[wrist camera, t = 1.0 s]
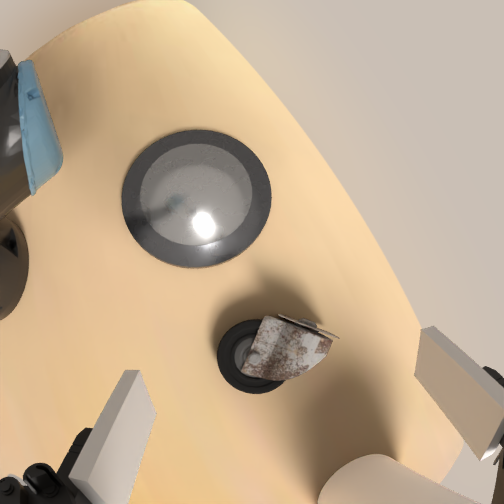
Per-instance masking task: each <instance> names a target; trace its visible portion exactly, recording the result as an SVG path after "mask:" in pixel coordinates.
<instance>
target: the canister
mask: <svg viewBox="0 0 504 504" xmlns="http://www.w3.org/2000/svg"><path fill="white" fill-rule="evenodd" d="M318 504H481V503H478V502H476V501H474V500H472V499H469V498H467V497H465V496H463V495H461V494H459V493H456V492H454V491H452V490H450V489H448V488H446V487H444V486H442V485H440V484H438V483H436V482H434V481H432V480H430V479H428V478H427V477H425V476H423V475H421V474H419V473H417V472H415V471H414V470H412V469H410V468H408V467H406V466H404V465H403V464H401V463H399V462H397V461H396V460H394V459H392V458H390V457H389V456H386V455H382V454H371V455H366V456H362V457H359V458H357V459H355V460H353V461H351V462H349V463H347V464H346V465H344V466H343V467H341V468H340V469H339V470H338V471H336V472H335V473H334V474H333V475H332V476H331V477H330V478H329V480H328V481H327V482H326V484H325V485H324V487H323V488H322V490H321V492H320V495H319V498H318Z"/></svg>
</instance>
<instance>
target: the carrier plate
mask: <svg viewBox="0 0 504 504" xmlns="http://www.w3.org/2000/svg"><path fill="white" fill-rule="evenodd" d="M271 198H272V197H271V186H270V181H269V178H268V175H267V172H266V170H265V168H264V166H263V164H262V163H261V162H260V160H259V159H258V157H257V156H256V155H255V154H254V153H253V152H252V151H251V150H250V149H249V148H248V147H247V146H245V145H244V144H243V143H241V142H240V141H238V140H236V139H234V138H232V137H230V136H228V135H225V134H222V133H218V132H214V131H207V130H189V131H183V132H178V133H175V134H172V135H169V136H166V137H164V138H162V139H160V140H158V141H157V142H155V143H153V144H152V145H151V146H149V147H148V148H147V149H146V150H144V151H143V152H142V153H141V154H140V155H139V157H138V158H137V159H136V160H135V162H134V163H133V165H132V166H131V168H130V170H129V172H128V174H127V176H126V178H125V182H124V185H123V191H122V210H123V216H124V219H125V222H126V225H127V227H128V229H129V231H130V233H131V234H132V236H133V237H134V239H135V240H136V241H137V242H138V244H139V245H140V246H141V247H142V248H143V249H144V250H145V251H147V252H148V253H149V254H150V255H152V256H153V257H155V258H157V259H158V260H160V261H162V262H165V263H167V264H170V265H173V266H177V267H182V268H207V267H212V266H216V265H220V264H222V263H225V262H227V261H230V260H231V259H233V258H235V257H237V256H238V255H240V254H241V253H242V252H244V251H245V250H246V249H247V248H248V247H249V246H250V245H251V244H252V243H253V242H254V241H255V240H256V238H257V237H258V236H259V234H260V233H261V231H262V229H263V227H264V226H265V224H266V221H267V219H268V216H269V212H270V208H271Z"/></svg>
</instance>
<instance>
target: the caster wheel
mask: <svg viewBox="0 0 504 504" xmlns="http://www.w3.org/2000/svg"><path fill="white" fill-rule="evenodd" d="M278 315H279V316H281V317H283V318H286V319H289V320H291V321H294V322H295V324H294V323H290V322H287V321H284V320H281V319H278V318H275V317H272V316H266V315H265V317H264V318H263V320H260V319H254V320H247V321H244V322H241V323H239V324H237V325H235V326H234V327H232V328H231V329H230V330H228V331H227V332H226V334H225V335H224V336H223V338H222V340H221V341H220V344H219V347H218V351H217V361H218V366H219V369H220V372H221V374H222V375H223V377H224V378H225V380H226V381H227V382H228V383H229V384H230V385H232V386H233V387H234V388H236V389H238V390H240V391H243V392H246V393H251V394H262V393H266V392H270V391H272V390H274V389H276V388H277V387H279V386H280V385H281V384H283V382H284V381H285V380H287V379H291V378H294V377H297V376H299V375H301V374H303V373H305V372H306V371H308V370H310V369H311V368H312V367H314V366H315V365H316V364H318V363H319V362H320V361H321V360H322V359H323V358H325V357H326V355H327V353H328V351H329V348H330V346H331V344H332V340H331V339H329V338H328V337H326V336H324V335H322V334H320V333H318V332H319V331H320V332H322V333H325V334H328V335H330V336H333V337H336V338H339V337H337V336H335V335H333V334H331V333H329V332H327V331H324V330H322V329H319V328H317V325H316V324H315V322H312V321H310V320H307V319H305V318H302V319H299V321H298V320H296V319H293V318H291V317H288V316H285V315H283V314H278ZM339 339H340V338H339Z"/></svg>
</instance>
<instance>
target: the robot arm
mask: <svg viewBox="0 0 504 504" xmlns="http://www.w3.org/2000/svg"><path fill="white" fill-rule="evenodd" d="M62 162H63V152H62V148H61V145H60V142H59V139H58V136H57V133H56V130H55V127H54V124H53V121H52V118H51V115H50V112H49V110H48V107H47V103H46V100H45V97H44V94H43V91H42V88H41V85H40V81H39V78H38V75H37V73H36V70H35V67H34V63H33V62H32V61H31V60H27V61H21V62H20V63H19V64H18V66H16V65H15V63H14V62H13V59H12V57H11V55H10V53H9V51H8V50H0V320H2V319H4V318H5V317H7V316H8V315H9V314H10V313H11V312H12V311H13V310H14V308H15V307H16V306H17V304H18V302H19V300H20V298H21V296H22V294H23V291H24V288H25V285H26V281H27V275H28V264H29V263H28V250H27V245H26V241H25V238H24V236H23V234H22V232H21V230H20V229H19V227H18V226H17V225H16V224H15V223H14V222H12V221H11V220H9V219H8V218H6V217H4V216H6V215H7V214H8V213H9V212H10V211H11V210H12V209H14V208H15V207H16V206H17V205H18V204H20V203H21V202H22V201H23V200H24V199H26V198H27V197H28V196H29V195H32V196H33V195H34V194H35V193H36V190H37V189H38V188H40V187H41V186H42V185H43V184H44V183H46V182H47V181H48V180H49V179H51V178H52V177H53V176H54V175H56V174H57V172H58V171H59V170H60V168H61V166H62ZM414 376H415V377H416V378H417V379H418V381H419V382H420V383H421V384H422V386H423V387H424V388H425V389H426V391H427V392H428V393H429V394H430V396H431V397H432V398H433V400H434V401H435V402H436V403H437V405H438V406H439V407H440V409H441V410H442V411H443V412H444V414H445V415H446V416H447V418H448V419H449V420H450V422H451V423H452V424H453V426H454V427H455V428H456V429H457V431H458V432H459V433H460V435H461V436H462V437H463V439H464V440H465V442H466V443H467V444H468V445H469V447H470V448H471V450H472V451H473V452H474V454H475V455H476V456H477V458H478V459H479V461H481V460H483V459H484V458H486V457H488V456H489V455H491V454H493V453H494V451H495V450H496V448H497V446H498V444H499V443H500V445H501V446H502V447H503V448H502V450H501V451H500V453H499V455H498V456H497V458H496V459H495V461H494V464H493V465H495V464H496V463H497V462H498V460H499V466H498V472H497V478H496V485H495V490H494V494H493V499H492V503H491V504H504V378H503V377H502V376H501V375H500V374H499V373H498V372H497V371H496V370H494V369H491V368H489V367H487V366H485V367H483V368H481V367H480V366H479V365H478V364H477V363H475V361H474V360H472V359H471V358H470V357H469V356H468V355H467V354H466V353H465V352H463V351H462V350H461V349H460V348H459V347H458V346H456V345H455V344H454V343H453V342H452V341H451V340H450V339H448V338H447V337H446V336H445V335H444V334H443V333H441V332H440V331H439V330H438V329H437V328H436V327H434V326H431V327H428V328H425V329H421V334H420V342H419V349H418V355H417V362H416V368H415V373H414ZM156 414H157V413H156V411H155V408H154V406H153V404H152V401H151V398H150V396H149V393H148V391H147V388H146V386H145V383H144V380H143V377H142V375H141V372H140V370H125V371H124V373H123V375H122V377H121V378H120V380H119V382H118V384H117V385H116V387H115V389H114V391H113V393H112V394H111V396H110V398H109V400H108V402H107V403H106V405H105V407H104V409H103V411H102V413H101V414H100V416H99V418H98V420H97V422H96V424H95V426H94V428H85V429H84V430H82V431H81V432H80V433H79V434H78V435H77V436H76V438H75V440H74V442H73V445H71V447H70V449H69V453H67V455H66V456H65V458H64V460H63V462H62V464H61V466H60V468H59V469H58V471H57V473H55V471H54V470H53V469H52V468H51V467H50V466H49V465H47V464H45V463H35V464H33V465H31V466H29V467H28V468H27V469H26V470H25V472H24V475H23V481H24V482H25V483H26V484H27V485H28V486H22V485H21V484H20V482H19V481H18V480H17V479H15V478H13V477H5V478H2V479H1V480H0V504H128V503H129V499H130V496H131V492H132V489H133V486H134V482H135V479H136V476H137V473H138V469H139V466H140V463H141V460H142V457H143V454H144V450H145V447H146V444H147V441H148V438H149V435H150V432H151V429H152V426H153V423H154V420H155V417H156Z"/></svg>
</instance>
